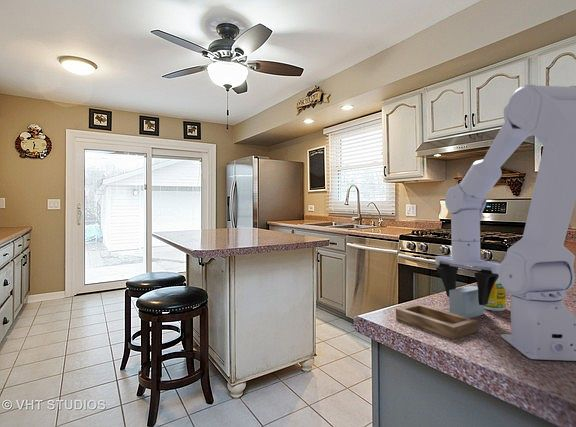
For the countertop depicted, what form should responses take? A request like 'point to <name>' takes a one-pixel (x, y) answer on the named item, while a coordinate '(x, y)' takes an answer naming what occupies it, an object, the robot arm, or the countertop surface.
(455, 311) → the grey rectangular block
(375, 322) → the countertop surface
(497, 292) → the supplement bottle
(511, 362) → the countertop surface
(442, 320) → the wooden tray
